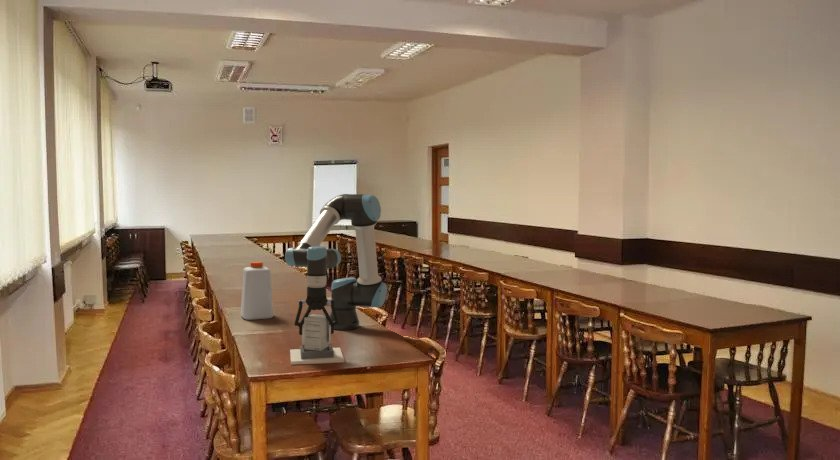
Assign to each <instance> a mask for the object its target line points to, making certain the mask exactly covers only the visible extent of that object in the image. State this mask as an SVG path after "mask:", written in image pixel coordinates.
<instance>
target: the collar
mask: <svg viewBox="0 0 840 460" xmlns="http://www.w3.org/2000/svg"><path fill="white" fill-rule="evenodd" d="M333 348H334V347H333V346H332V343H328V347H326V348H325V349H323V350H321V351H318V350H308V349H304V344H299V349H300V355H301V359H316V358H334V351H333ZM304 351H311V352H304Z"/></svg>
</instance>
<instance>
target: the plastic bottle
mask: <svg viewBox="0 0 840 460" xmlns="http://www.w3.org/2000/svg"><path fill="white" fill-rule="evenodd" d="M242 271H243V273H242V283H241V284H242V287H241V288H242V289H241V301H240V316H241V317H242V318H243V319H244V320H245V321H246V320H247V321H256V320H257V321H258V320H268V319H272V318H273V316H274V306H273V305H274V304H273V292H272V290H273V289H272V278H271V277H272V276H271V275H272V274H271V270H270V268H268V267H267V266H264V263H263V262H262V261H251V263H250V266H248V267H247V266H245V267H244V268H243V270H242Z"/></svg>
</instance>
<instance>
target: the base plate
mask: <svg viewBox="0 0 840 460" xmlns="http://www.w3.org/2000/svg"><path fill="white" fill-rule="evenodd" d="M332 348H333V351H334V358H316V359H301V355H300V348H299V349H297V348H296V349H295V348H294V349H293V348H292V349H289V355H290V365H291V366H292V365H293V366H294V365H311V364H313V365H314V364H335V363H337V364H339V363H345V357H344V355H343V353H342V350H341V347H332ZM304 352H311V351H304Z"/></svg>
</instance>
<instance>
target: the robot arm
mask: <svg viewBox="0 0 840 460" xmlns="http://www.w3.org/2000/svg"><path fill="white" fill-rule="evenodd" d="M381 209H382V208H381V204H380V201H379V198H377V197H376V196H375V195H373V194H366V193H360V194H359V193H358V194H356V193H355V194H354V193H342V194H339V195H336V196H335V197H333V198H331V199H329V201H327V202H326V203H324V205H323V206H322V208H321V209H320V210H319V215H318V217H317V218H316V220H315V221H314V223H313V224H312V225H311V227H309V230H307V232H306V233H305V235H304V236H303V238H302V239H301V240H300V241H299V243H298V244H297V245H296V247H288V248H287V249H286V251H285V254H284V260H285V263H286V265H288V266H290V267H298V268H299V267H301V268H303V267H305V268H307V270H306V285H307V287H306V299H299V300H298V308H297V312H296V316H295V320H294V326H297V327H298V334H299V336H301V345H304V318H305V317H308V316H310V314H311V312H312V311H322V312H323V315H325V316H326V317H327V319H328V344H332V343H331V342H332V335H334V334H335V333H334V332H335V330H342V331H343V330H345V331H346V330H347V331H348V330H354V329H358V328H360V320H359V316H358V313H357V307H365V308H381V307H382V306H383V305H384V304H385V301H386V298H387V293H388V286H387V284H386V283H385V282H383V281H382V277H381V276H380V275H379V272H378V271H379V269H378V260H377V245H376V237H375V236H376V235H375V226H376V224H377V223H378V221H379V220H380V218H381V213H382V210H381ZM342 220H343V221H344V220H347V221H350V222H351V226H352V227H353V228H354V229H355V230H354V232H355V241H356V252H357V260H358V261H357V262H358V273H359V277H358V278H356V277H344V278H338V279H334V280H333V281H332V282H331V288H330V291H331V293H330V294H331V295H330V297H331V300H329V299H327V298H328V297H327V286H326V285H327V270H328V269H333V268H335V267H337V266H339V265H340V263H341V260H342V255H341V253H340V251H338V249H335V248H328V249H327V247H326V246H321V244H322V243H323V241H324V240H325V238H326V237H327V235H328V234H329V232H330V231H331V230H332V228H333V227H334V226H335V225H338V224H339V222H340V221H342ZM327 302H328V303H329V304H328V303H327ZM305 304H306V305H307V306H308V307H307V309H306V311H305V313H304V314H303V316H302V318H301V315H302V312H303V306H305ZM327 304H328V305H329V306H330V313H329V312H328V311H327V309H326V307H325V306H326V305H327ZM300 318H301V320H300Z"/></svg>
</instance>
